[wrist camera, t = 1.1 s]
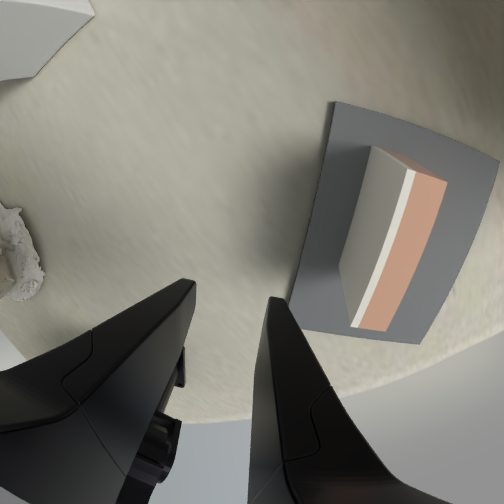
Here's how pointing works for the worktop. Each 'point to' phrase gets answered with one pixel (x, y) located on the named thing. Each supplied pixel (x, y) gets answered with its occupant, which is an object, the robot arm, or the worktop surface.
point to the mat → (342, 211)
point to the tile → (387, 236)
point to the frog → (17, 258)
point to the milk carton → (36, 32)
